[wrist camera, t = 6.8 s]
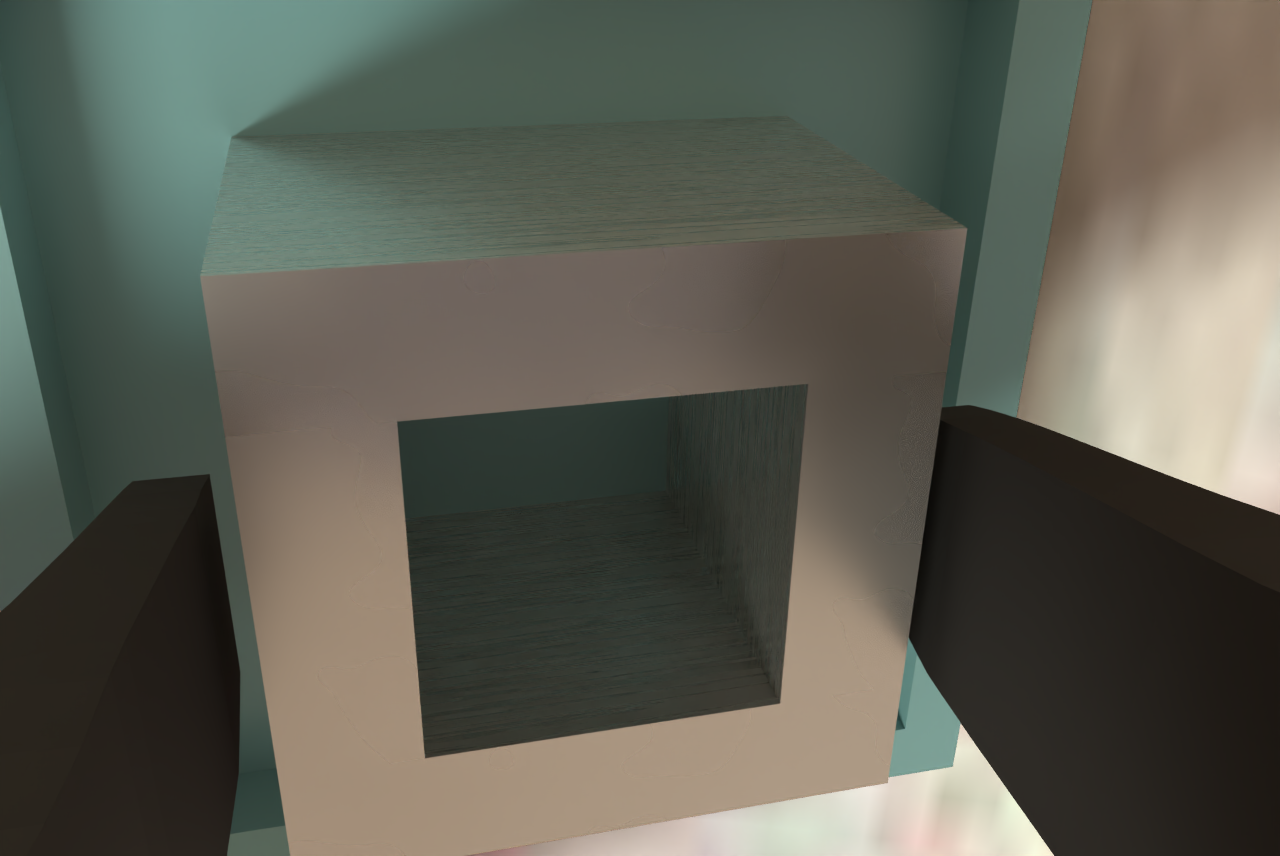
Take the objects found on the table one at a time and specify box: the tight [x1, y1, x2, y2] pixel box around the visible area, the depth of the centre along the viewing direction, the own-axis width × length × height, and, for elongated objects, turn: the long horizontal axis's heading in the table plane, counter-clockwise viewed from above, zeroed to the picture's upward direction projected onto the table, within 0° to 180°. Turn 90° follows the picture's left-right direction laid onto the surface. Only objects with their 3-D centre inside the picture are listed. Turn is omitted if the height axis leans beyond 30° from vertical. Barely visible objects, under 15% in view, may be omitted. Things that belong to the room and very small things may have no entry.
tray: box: [0, 0, 1092, 856], centre depth 13 cm, size 11×11×2 cm
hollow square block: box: [200, 116, 967, 856], centre depth 12 cm, size 6×6×4 cm
